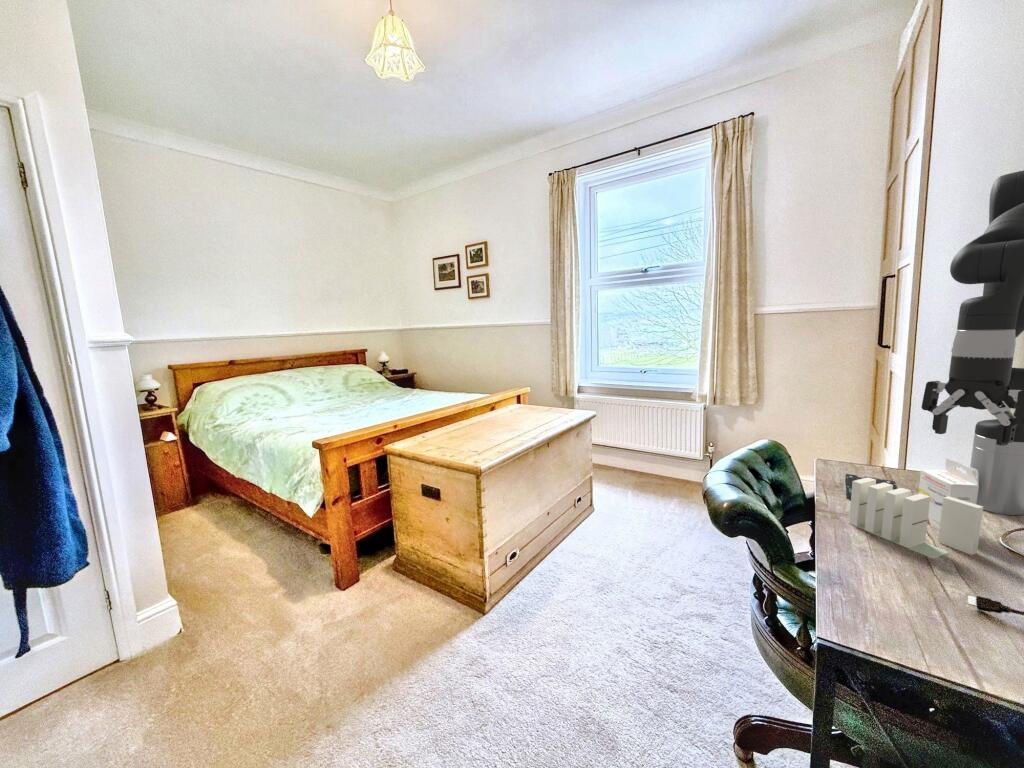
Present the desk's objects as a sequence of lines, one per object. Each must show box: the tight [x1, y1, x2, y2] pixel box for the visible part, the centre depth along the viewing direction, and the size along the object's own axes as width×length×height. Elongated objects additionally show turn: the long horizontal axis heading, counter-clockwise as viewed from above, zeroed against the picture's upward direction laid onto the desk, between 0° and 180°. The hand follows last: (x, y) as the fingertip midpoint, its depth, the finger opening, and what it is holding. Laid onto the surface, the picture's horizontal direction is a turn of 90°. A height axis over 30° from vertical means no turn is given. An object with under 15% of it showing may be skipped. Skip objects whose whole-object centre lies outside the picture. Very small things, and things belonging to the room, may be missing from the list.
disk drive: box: [844, 473, 898, 500], centre depth 104 cm, size 10×3×15 cm
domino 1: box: [848, 477, 876, 527], centre depth 90 cm, size 5×2×10 cm, turn 108°
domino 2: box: [864, 482, 893, 534], centre depth 87 cm, size 5×2×10 cm, turn 108°
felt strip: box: [846, 521, 950, 559], centre depth 84 cm, size 5×15×1 cm, turn 18°
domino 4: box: [898, 493, 930, 549], centre depth 81 cm, size 5×2×10 cm, turn 108°
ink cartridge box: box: [917, 457, 979, 531], centre depth 87 cm, size 9×5×15 cm, turn 168°
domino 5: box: [937, 496, 984, 556], centre depth 79 cm, size 5×2×10 cm, turn 18°
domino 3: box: [881, 487, 912, 541], centre depth 84 cm, size 5×2×10 cm, turn 108°
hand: (969, 438), depth 77 cm, fingers open, 8 cm apart
